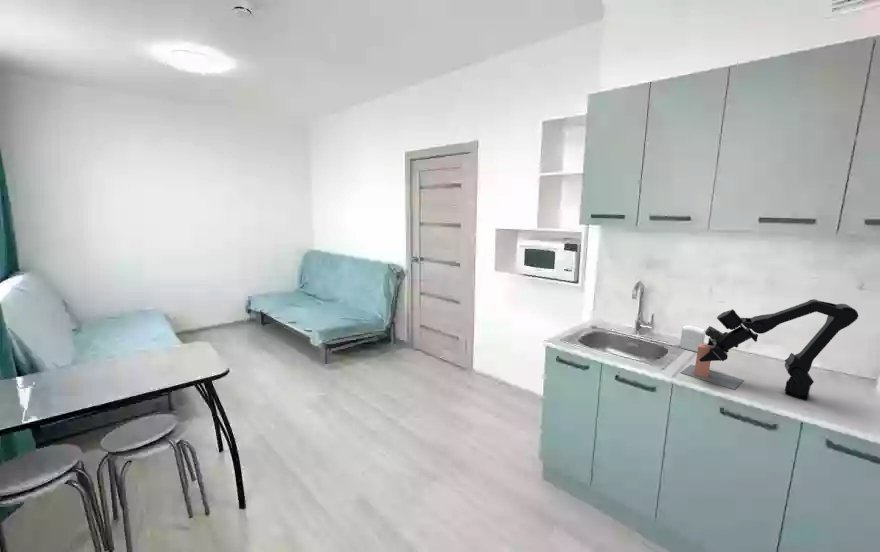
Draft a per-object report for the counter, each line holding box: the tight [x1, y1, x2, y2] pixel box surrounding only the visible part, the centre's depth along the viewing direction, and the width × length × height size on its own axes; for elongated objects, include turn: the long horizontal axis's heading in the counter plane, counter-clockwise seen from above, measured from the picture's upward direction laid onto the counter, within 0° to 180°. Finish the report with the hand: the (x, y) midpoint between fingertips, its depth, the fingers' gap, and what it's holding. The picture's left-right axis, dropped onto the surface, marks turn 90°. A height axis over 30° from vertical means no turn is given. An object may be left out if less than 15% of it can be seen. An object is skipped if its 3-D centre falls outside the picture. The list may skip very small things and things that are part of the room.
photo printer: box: [679, 325, 706, 353], centre depth 201 cm, size 10×4×12 cm, turn 39°
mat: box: [680, 364, 745, 391], centre depth 171 cm, size 20×13×1 cm, turn 40°
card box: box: [694, 343, 712, 378], centre depth 171 cm, size 5×4×13 cm
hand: (699, 357), depth 172 cm, fingers open, 9 cm apart
